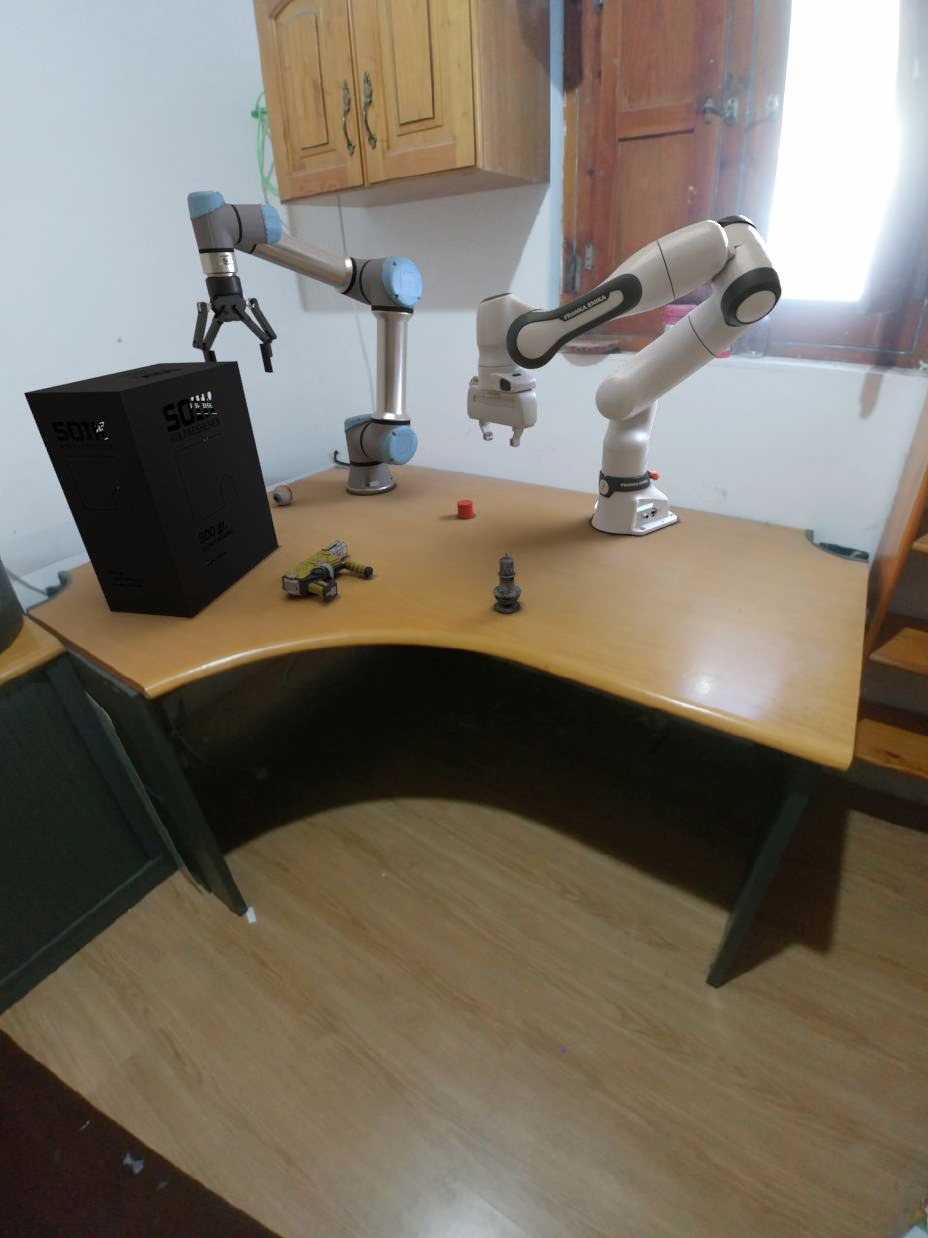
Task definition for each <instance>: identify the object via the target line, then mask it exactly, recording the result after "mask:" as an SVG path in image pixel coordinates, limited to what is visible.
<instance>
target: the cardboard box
mask: <svg viewBox="0 0 928 1238" xmlns="http://www.w3.org/2000/svg"><path fill="white" fill-rule="evenodd" d="M209 393H210V397H209V395H208V394H209ZM23 394H24V397H25V399H26V402H27V405H28V407H29V410H30V412H31V414H32V418H33V420H34V423H35V425H36V427H37V430H38V431H39V432H38V433H39V435H40V437H41V440H42V442H43V445H44V447H45V450H46V452H47V455H48V457H49V460H50V463H51V465H52V467H53V470H54V473H55V475H56V478H57V480H58V483H59V486H60V488H61V490H62V493H63V495H64V498H65V501H66V503H67V505H68V509H69V510H70V513H71V516H72V518H73V520H74V523H75V525H76V528H77V532H78V533H79V536H80V538H81V541H82V544H83V546H84V548H85V551H86V554H87V555H88V558H89V561H90V563H91V566H92V568H93V571H94V574H95V576H96V579H97V581H98V584H99V587H100V589H101V591H102V594H103V597H104V598H105V601H106V603H107V607H108V609H109V611H110V612H119V613H120V612H122V613H133V614H146V615H157V616H160V615H161V616H170V617H171V616H172V617H183V618H193V617H194V616H195V615H196V614H197V613H199V612H200V611H202V610H203V609H204V608H205V607H206V606H208V605H209V604H210V603H211V602H213V600H214V599H216V598H217V597H218V596H219V595H221V594H222V593H223V592H225V591H226V590H227V589H228V588H230V586H232V585H233V584H234V583H235V582H237V581H238V580H239V579H240V578H242V577H243V576H244V575H246V573H248V572H249V571H250V570H252V568H254V567H256V565H258V564H259V563H260V562H262V560H264V559H265V558H266V557H267V556H268V555H270V554H271V553H273V551H275V550H276V549H277V548H279V542H278V537H277V533H276V529H275V524H274V520H273V515H272V510H271V505H270V502H269V497H268V493H267V487H266V483H265V479H264V474H263V471H262V466H261V461H260V457H259V452H258V447H257V444H256V439H255V434H254V429H253V425H252V421H251V417H250V416H251V415H250V411H249V408H248V403H247V398H246V394H245V388H244V385H243V379H242V376H241V371H240V367H239V361H238V360H227V361H226V360H225V361H224V360H223V361H217V362H205V361H189V362H188V361H187V362H159V363H155V364H149V365H145V366H140V367H136V368H131V369H126V370H123V371H117V372H114V373H113V372H112V373H109V374H104V375H100V376H95V377H90V378H86V379H81V380H77V381H72V382H68V383H62V384H58V385H54V386H53V385H52V386H49V387H44V388H40V389H35V390H32V391H31V390H30V391H26V392H23ZM197 397H198V398H197ZM192 398H193V399H192ZM202 398H203V399H204V400H202Z"/></svg>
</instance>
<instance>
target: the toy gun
mask: <svg viewBox="0 0 928 1238" xmlns="http://www.w3.org/2000/svg"><path fill="white" fill-rule="evenodd" d="M345 548H348V543H347V542H346V541H343V540H342V541H341V540H339V539H338V540H335V541H334V542H333V543H331V544H330V545H327V546H326V547H325V548H321V549H320V550H318V551H317V552H316V553H314V554H312V555H311V556H310V557H307V559H305V560H304V561H302V562H300V563H299V564H298V565H296V566H294V567H293V568H291V569H290V570H288V571H287V572H285V573H284V574H282V576H281V585H282V586H281V587H282V590H283V591H284V592H285V593H287V596H292V597H295V596H302V597H303V596H307V595H310V594H315V595H318V596H320V597H322V601H323V602H325V603H327V602H328V601H330V600H332V599H333V598H335V597H337V596H338V594H339V593H338V582H337V581H336V580H334V578H335V577H334V575H336V574H337V573H340V572H342V571H343V570H346V571H349V572H353V573H355V574H358V575H361V576H364V577H366V578H370V577H372V576H373V575H374V569H373V567H372V566H370V565H365V564H361V563H359V562H357V561H352V560H349V559H347V560H345V561H344V562H342V560H343V558H344V557H347V556H348V554H349V553H348V549H346V552H344V549H345Z"/></svg>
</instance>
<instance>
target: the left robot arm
mask: <svg viewBox="0 0 928 1238" xmlns="http://www.w3.org/2000/svg"><path fill="white" fill-rule="evenodd" d="M186 200H187V201H186V202H187V208H188V214H189V220H190V221H191V226H192V229H193V233H194V237H195V243H196V246H197V249H198V250H197V251H198V254H199V260H200V265H201V268H202V272H203V275H206V277H205V280H204V282H205V286H206V290H207V294H208V297H209V302H206V301H198V302H196V308H197V317H196V321H195V328H194V333H193V339H192V343H191V344H192V345H191V346H192V348H194V349H197V350H200V351H201V352H202V355H203V359H204V362H218V360H217V356H216V351H215V350H214V349H213V350H212V346H213V344H214V343H215V340H216V338H217V336H218V334H219V332H220V330H221V327H222V325H224V323H232V322H241V323H243V324H244V326H246V327H247V328H248V329H249V331H250V332H252V334H254V336H255V337H257V338H258V339H259V341H260V342H261V343H259V349H260V354H261V358H262V359H261V360H262V364H263V368H264V372H265V373H269V374H271V373H274V369H273V365H272V358H273V356H274V355H273V349H272V344H273V341H275V340H277V339H278V336H277V333H276V332H275V331H274V329H273V327H272V326H271V324H270V322H269V321H268V319H267V317H266V316H265V315H264V313H263V310H261V308H260V303H259V301H258V299H257V297H248V298H247V299H245V297H244V291H243V287H242V282H241V277H239V276H238V275H237V274H238V273H239V267H238V263H237V258H236V253H235V250H236V251H239V252H241V253H244V254H246V255H247V254H248V255H250V256H253V257H255V258H258V259H261V260H263V261H266V262H268V263H271V264H273V265H276V266H279V267H281V268H283V269H287V270H289V271H292V272H294V273H297V274H300V275H302V276H305V277H307V278H310V279H313V280H315V281H317V282H321V283H322V284H326V285H328V286H331V287H333V288H334V291H335V292H336V293H338V294H340V295H343V296H345V297H348V298H350V299H353V300H355V301H357V302H360V303H362V304H364V305H366V306H367V305H368V306H371V307H370V309H371V311H370V313H371V314H372V315H373V317H374V318H375V320H376V377H375V378H376V379H375V381H376V382H375V383H376V386H375V387H376V389H375V390H376V393H375V395H376V399H375V400H376V401H375V402H376V403H375V405H376V407H375V408H376V409H375V411H374V412H373V413H364V414H358V415H353V416H350V417H346V419H345V420H344V421H343V426H344V428H343V433H344V435H345V442H346V448H347V454H348V455H347V456H348V461H349V462H344V461H340V460H338V459H337V454H339V451H338V450H337V449H335V450H334V451H333V460H334V461H335V462H336V463H337V464H339V465H343V466H349V471H348V476H347V482H346V487H347V491H348V492H349V493H350V494H353V495H359V496H371V495H379V494H384V493H385V492H389V491H391V490H392V489H394V488H395V478H394V477H393V475H392V471H391V470H390V467H389V466H403V465H405V464H407V463H409V462H410V461H411V459H412V458H414V456H415V455H416V452H417V449H418V444H419V443H418V442H419V441H418V436H417V434H416V433H415V430H414V429H413V428H411V421H412V420H411V419H412V418H411V417H410V415H409V414H408V413H407V411H406V409H407V373H408V371H407V369H408V333H409V330H408V329H409V328H408V327H409V321H410V320H411V319H412V318H413V317H414V311H415V310H414V307H415V306H416V305H417V304H418V303H419V300H421V298H422V295H423V289H424V286H423V279H422V275H421V273H420V271H419V269H418V268H417V266H416V264H414V262H413V261H412V260H410V259H408V258H406V257H402V256H389V257H381V258H369V259H368V258H367V259H365V258H355V257H352V256H350V255H347V254H342V255H341V256H340V255H337V254H334V253H332V252H330V251H328V250H325V249H323V248H320V247H318V246H315V245H314V244H311V243H309V242H307V241H304V240H302V239H299V238H297V237H294V236H292V235H291V234H290V235H289V234H287V233H285V232H283V225H282V220H281V216H280V214H279V212H278V210H277V208H275V207H274V206H273V205H271V204H262V203H257V204H256V203H250V204H249V203H242V204H241V203H238V204H237V203H235V204H234V203H228V202H226V200H225V198H224V196H223V194H222V193H221V192H220V191H214V190H199V191H192V192H190V193H188V195H187V197H186ZM247 308H248V309H249V310H250V312H251V313H252V315H253V316H254V318H255V320H256V321H257V323H258V324H257V323H256V322H255V321H254V320H253V319H252V318H251V316H250V315H249V314H248V313H247V312H246V309H247ZM210 310H211V311H212V312H213V313H214V315H213V316H212V319H211V323H210V325H209V327H208V330H207V332H206V329H207V324H208V316H209V313H210ZM388 465H389V466H388Z"/></svg>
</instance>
